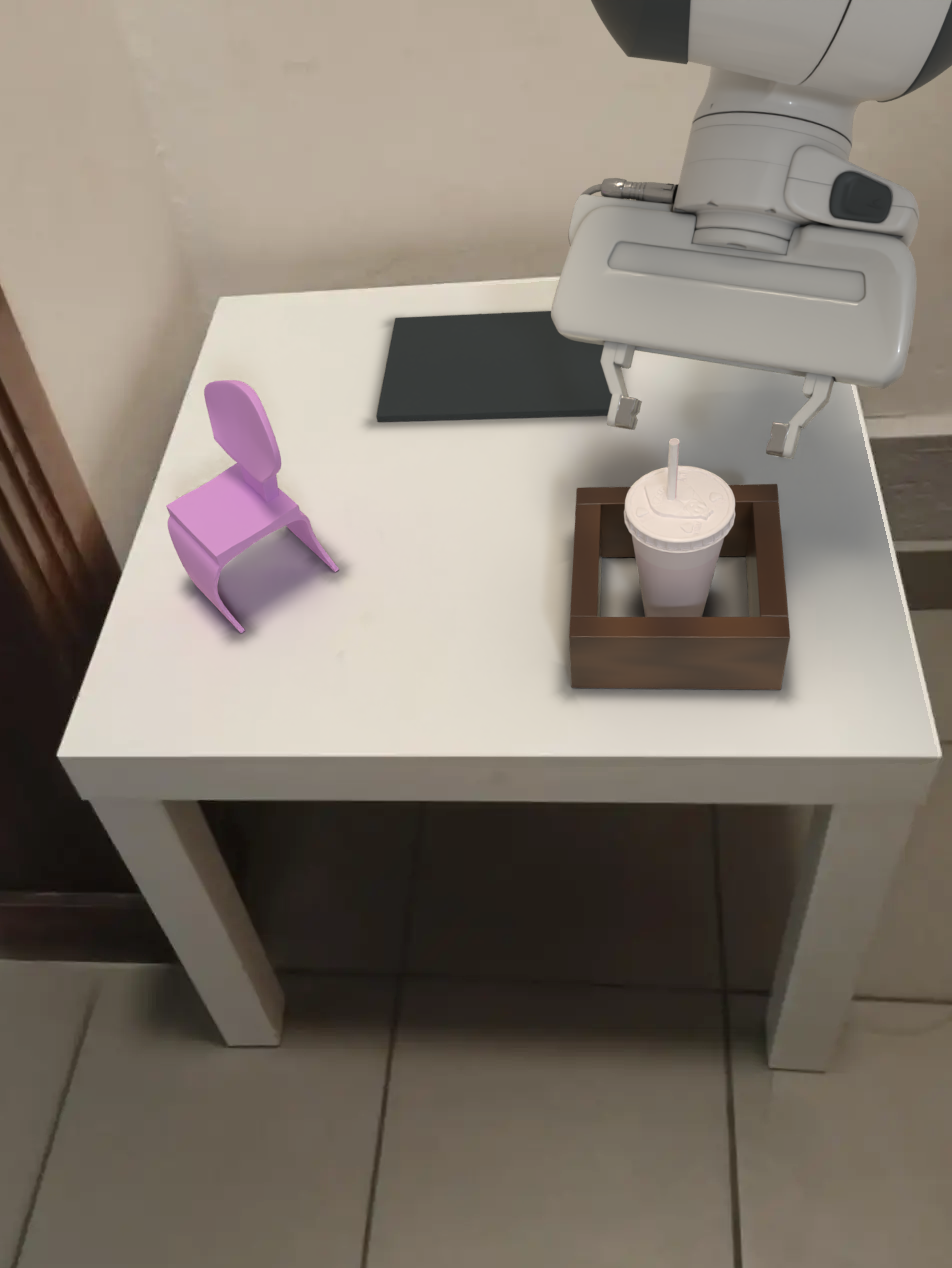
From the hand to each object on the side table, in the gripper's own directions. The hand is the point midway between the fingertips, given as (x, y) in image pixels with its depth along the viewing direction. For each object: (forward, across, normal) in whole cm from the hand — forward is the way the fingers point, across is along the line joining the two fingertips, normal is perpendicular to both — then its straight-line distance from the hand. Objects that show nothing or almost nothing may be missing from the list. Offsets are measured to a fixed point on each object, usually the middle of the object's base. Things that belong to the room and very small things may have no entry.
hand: (698, 442), depth 71 cm
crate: (+10, 0, +5) cm, 12 cm away
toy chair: (+14, -28, +2) cm, 31 cm away
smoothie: (+10, 0, +5) cm, 12 cm away
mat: (-4, -20, +20) cm, 28 cm away
